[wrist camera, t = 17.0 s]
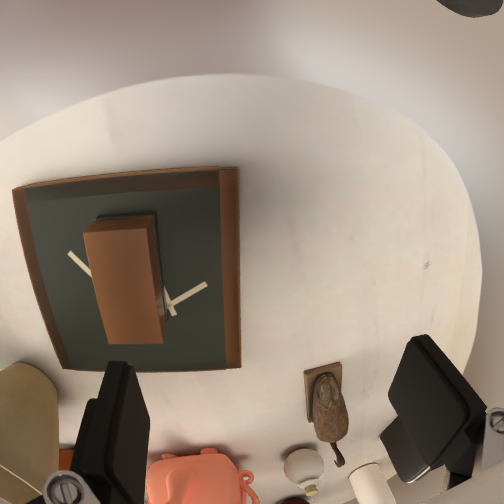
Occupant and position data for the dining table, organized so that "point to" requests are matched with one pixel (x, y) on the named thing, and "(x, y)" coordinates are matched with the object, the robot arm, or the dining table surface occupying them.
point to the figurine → (327, 405)
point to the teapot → (198, 480)
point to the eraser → (128, 277)
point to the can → (371, 485)
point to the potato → (296, 501)
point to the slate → (172, 261)
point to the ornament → (304, 469)
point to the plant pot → (27, 432)
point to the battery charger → (403, 453)
